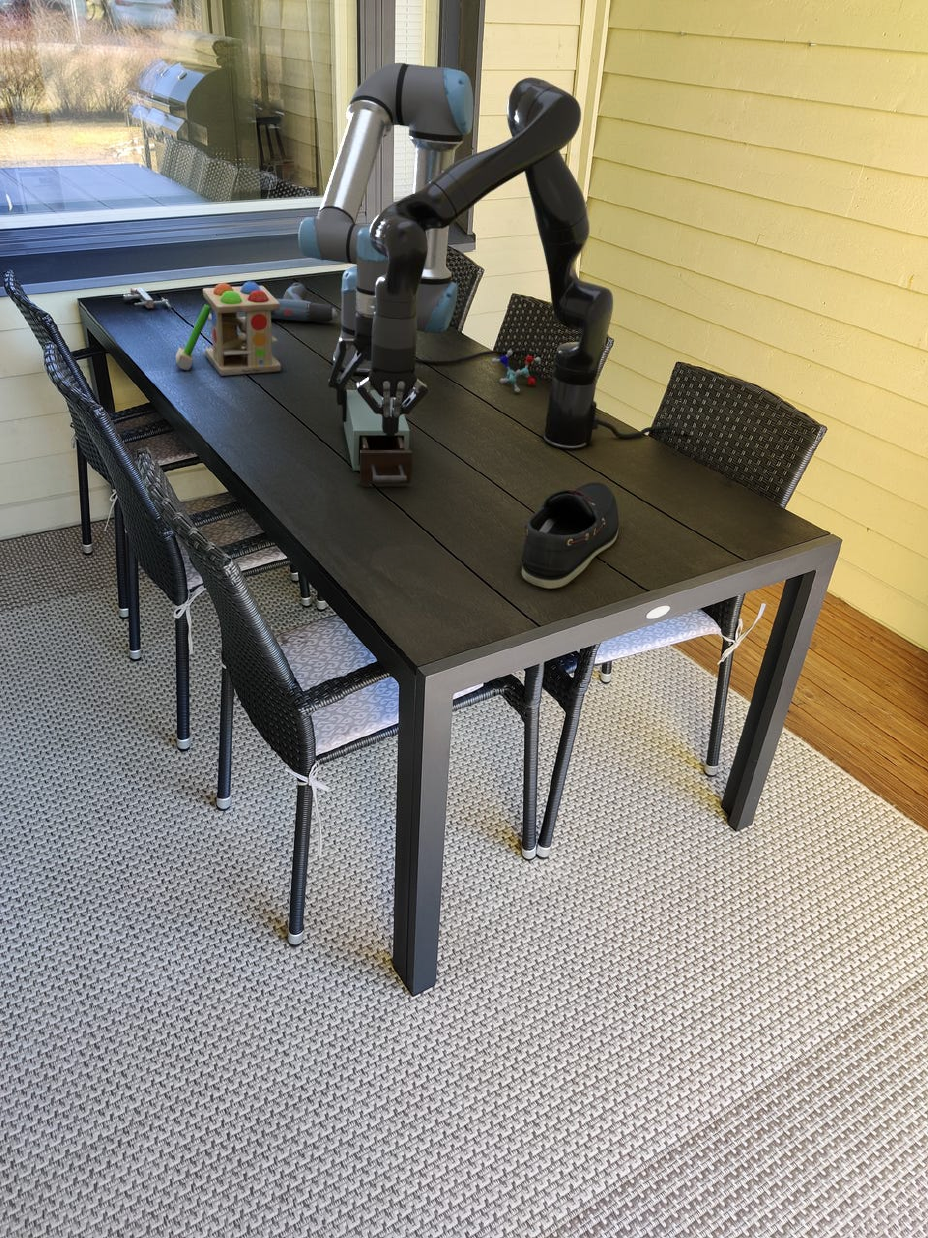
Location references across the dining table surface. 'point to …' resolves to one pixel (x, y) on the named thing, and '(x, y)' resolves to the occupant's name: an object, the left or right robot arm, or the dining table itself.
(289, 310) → the power drill
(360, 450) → the drawer
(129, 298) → the clamp
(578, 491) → the boat shoe
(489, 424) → the dining table surface
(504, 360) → the molecular model
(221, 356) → the pounding bench toy
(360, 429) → the cabinet
